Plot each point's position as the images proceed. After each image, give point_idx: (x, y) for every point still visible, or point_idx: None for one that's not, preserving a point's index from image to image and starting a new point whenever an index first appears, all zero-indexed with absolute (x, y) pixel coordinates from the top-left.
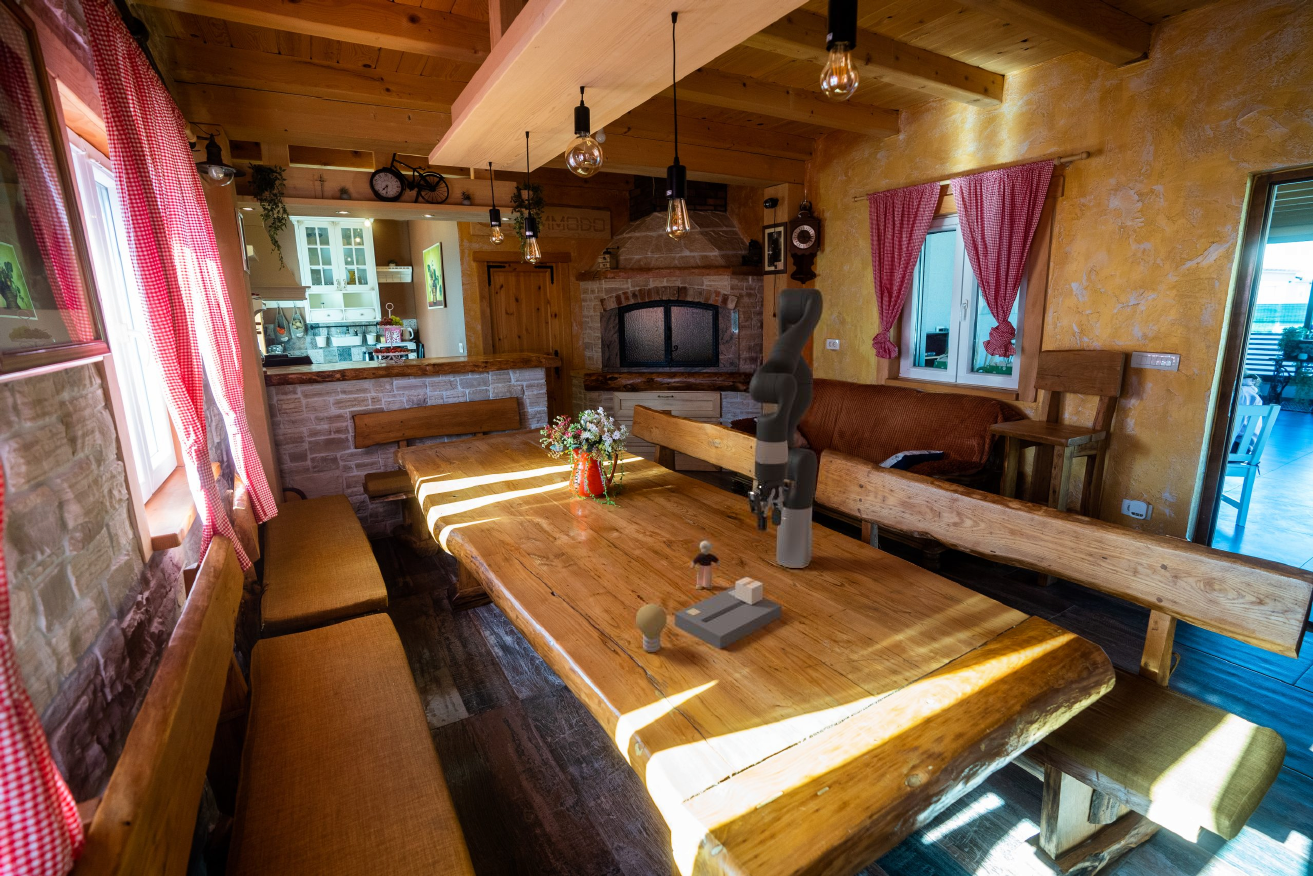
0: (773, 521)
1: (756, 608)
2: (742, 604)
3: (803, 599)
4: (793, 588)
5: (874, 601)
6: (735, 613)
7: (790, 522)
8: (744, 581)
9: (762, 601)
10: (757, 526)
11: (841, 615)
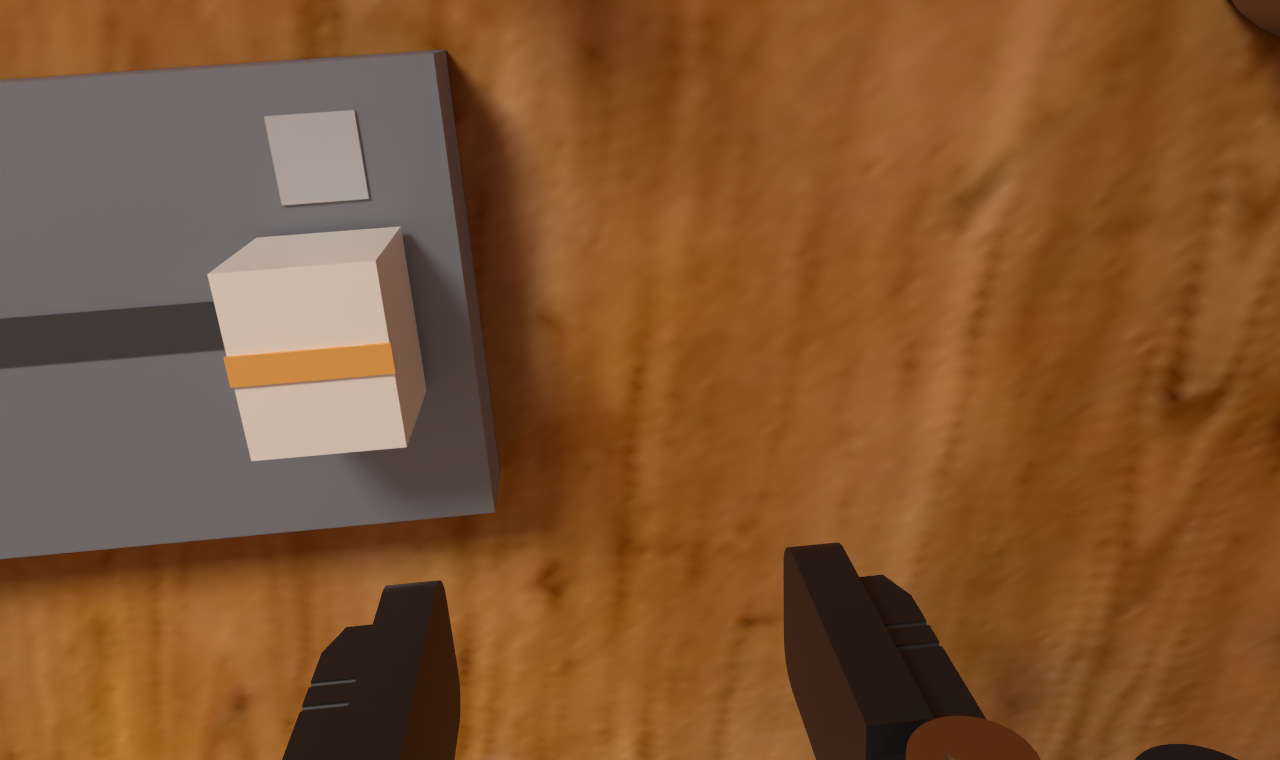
0: (797, 604)
1: None
2: None
3: (815, 394)
4: (912, 236)
5: (1101, 651)
6: (107, 412)
7: None
8: (290, 320)
9: None
10: (326, 654)
11: None
